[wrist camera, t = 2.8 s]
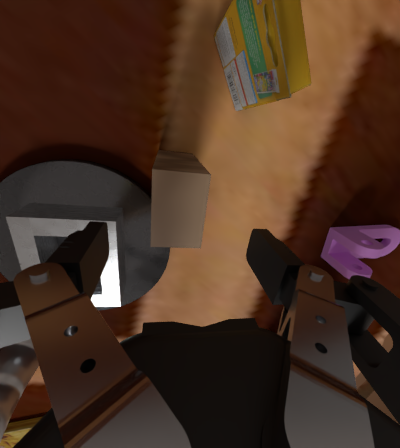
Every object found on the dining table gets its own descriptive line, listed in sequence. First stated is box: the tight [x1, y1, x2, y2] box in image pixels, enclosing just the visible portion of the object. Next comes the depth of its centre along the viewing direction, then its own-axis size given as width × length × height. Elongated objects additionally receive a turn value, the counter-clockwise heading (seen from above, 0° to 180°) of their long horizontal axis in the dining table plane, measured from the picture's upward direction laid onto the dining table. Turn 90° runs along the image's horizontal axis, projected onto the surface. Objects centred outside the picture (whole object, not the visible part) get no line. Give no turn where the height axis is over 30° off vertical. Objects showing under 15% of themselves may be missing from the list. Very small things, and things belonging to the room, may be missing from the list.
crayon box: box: [214, 0, 311, 111], centre depth 17 cm, size 7×3×12 cm, turn 23°
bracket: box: [321, 225, 400, 279], centre depth 32 cm, size 13×6×7 cm, turn 89°
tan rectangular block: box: [151, 150, 211, 248], centre depth 21 cm, size 4×6×12 cm, turn 173°
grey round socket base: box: [0, 159, 170, 310], centre depth 26 cm, size 22×22×6 cm
